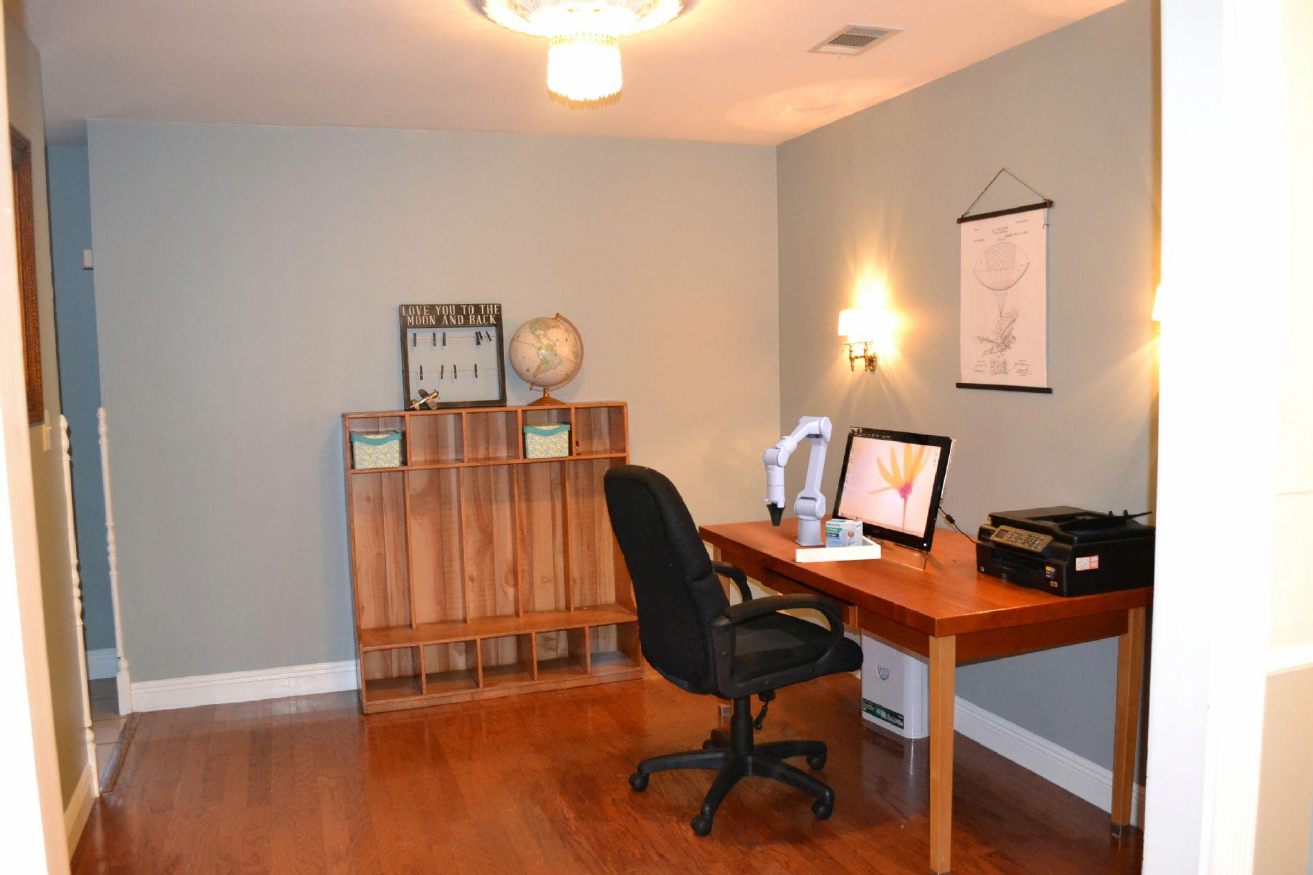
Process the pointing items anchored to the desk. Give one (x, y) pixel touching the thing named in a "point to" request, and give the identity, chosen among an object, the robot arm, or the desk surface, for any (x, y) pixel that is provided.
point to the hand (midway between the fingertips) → (776, 525)
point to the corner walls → (840, 552)
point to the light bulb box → (843, 533)
